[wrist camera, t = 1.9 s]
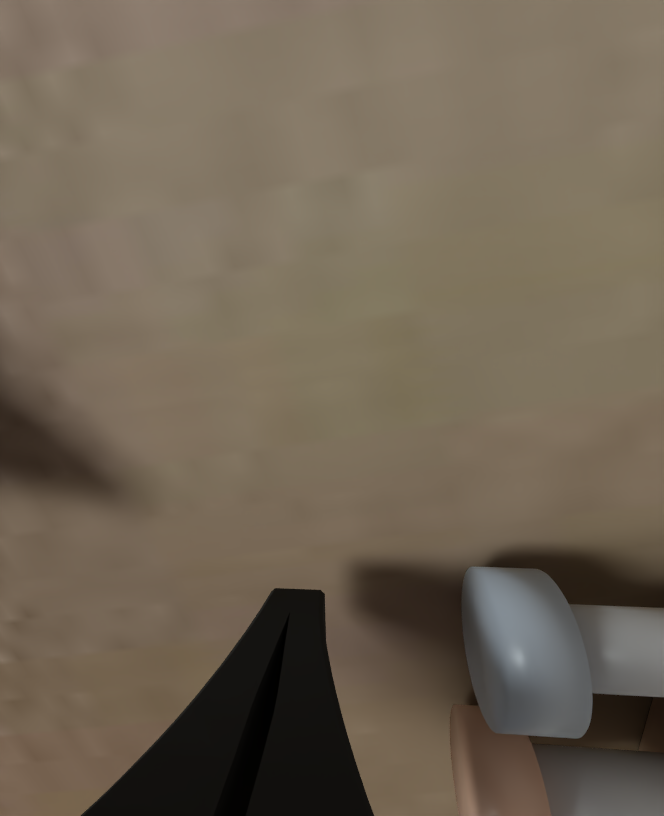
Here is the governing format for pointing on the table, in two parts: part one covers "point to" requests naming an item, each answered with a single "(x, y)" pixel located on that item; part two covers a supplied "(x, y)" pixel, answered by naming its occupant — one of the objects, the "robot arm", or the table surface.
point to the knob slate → (552, 652)
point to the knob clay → (547, 775)
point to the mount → (654, 728)
